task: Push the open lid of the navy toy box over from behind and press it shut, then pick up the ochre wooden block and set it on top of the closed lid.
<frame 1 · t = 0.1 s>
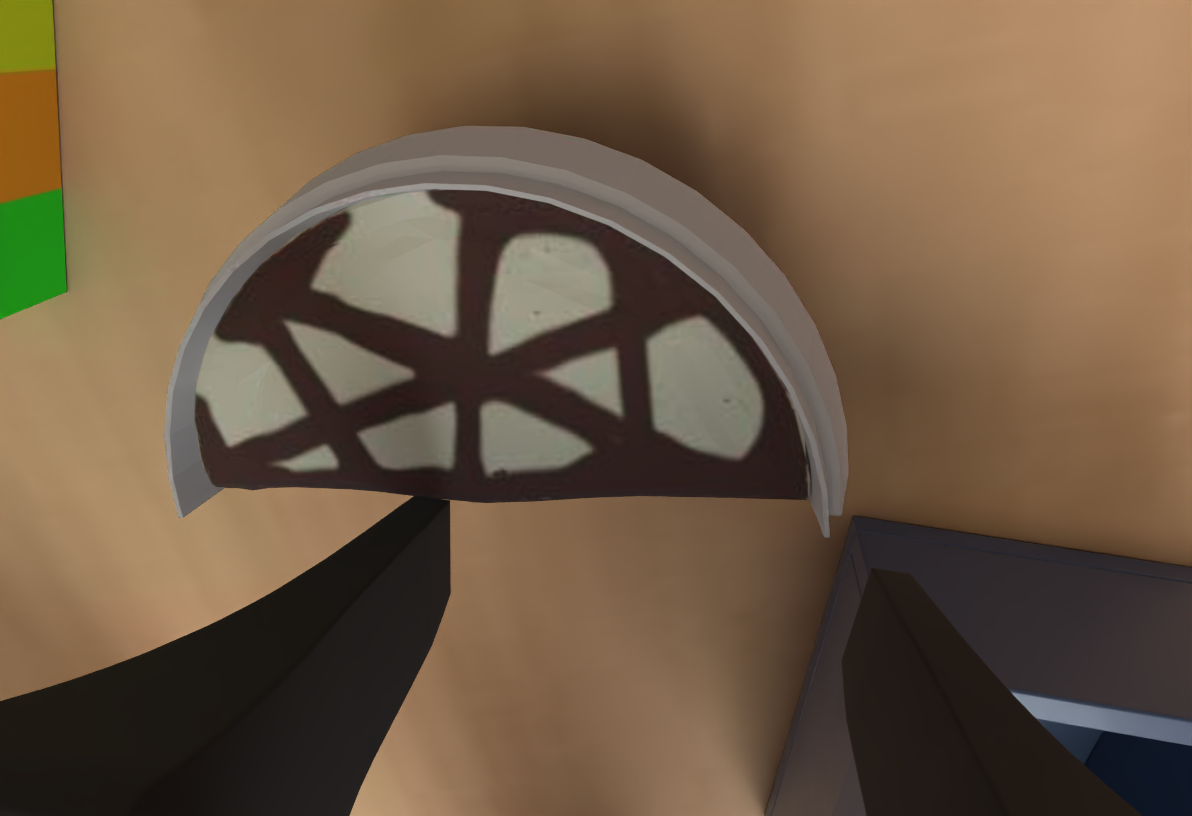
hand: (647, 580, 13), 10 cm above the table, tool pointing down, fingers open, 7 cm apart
food container: (576, 222, 21), on the table, touching gripper
toy box: (950, 711, 26), on the table
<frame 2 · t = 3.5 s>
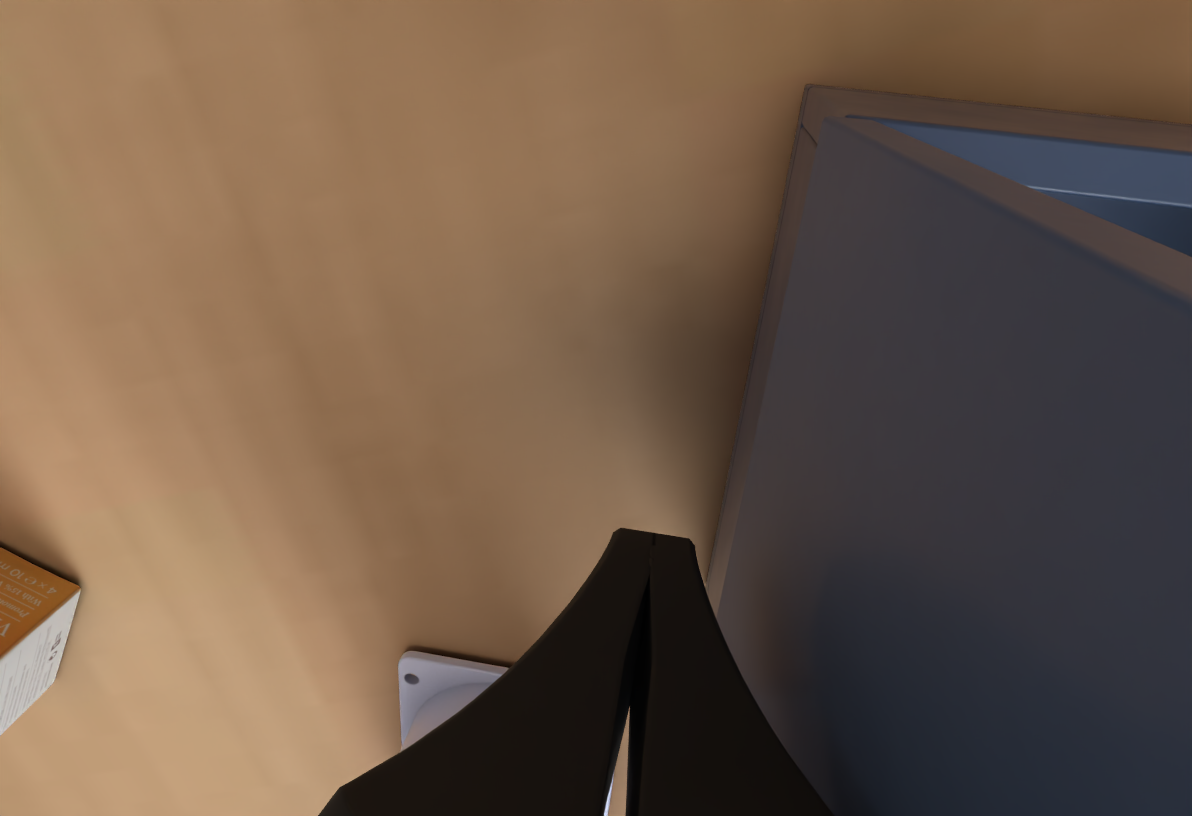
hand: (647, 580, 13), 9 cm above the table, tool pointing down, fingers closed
lid: (826, 781, 10), point 12 cm above the table, hinge at 82.8°, touching gripper
toy box: (939, 404, 20), on the table
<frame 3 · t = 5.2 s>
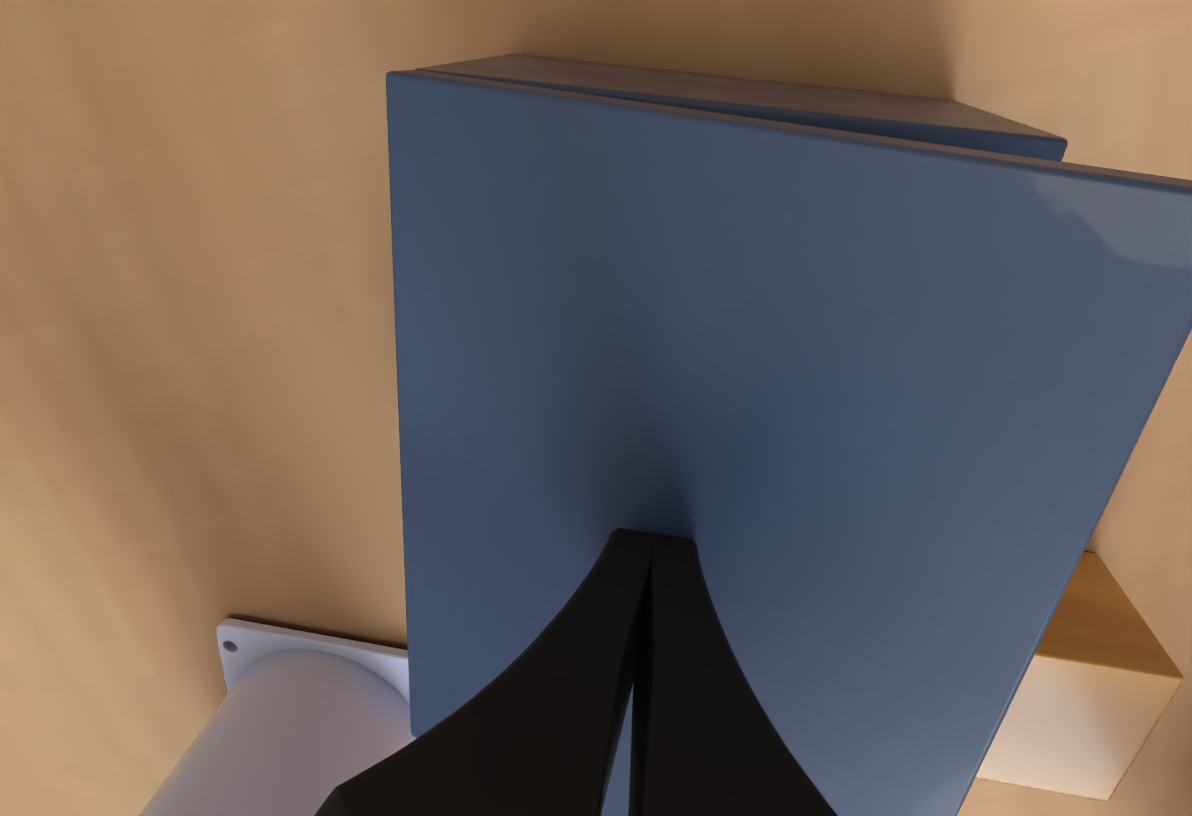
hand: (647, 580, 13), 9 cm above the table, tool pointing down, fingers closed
lid: (667, 564, 13), point 8 cm above the table, hinge at 17.5°
toy box: (681, 368, 21), on the table
block: (990, 600, 22), on the table
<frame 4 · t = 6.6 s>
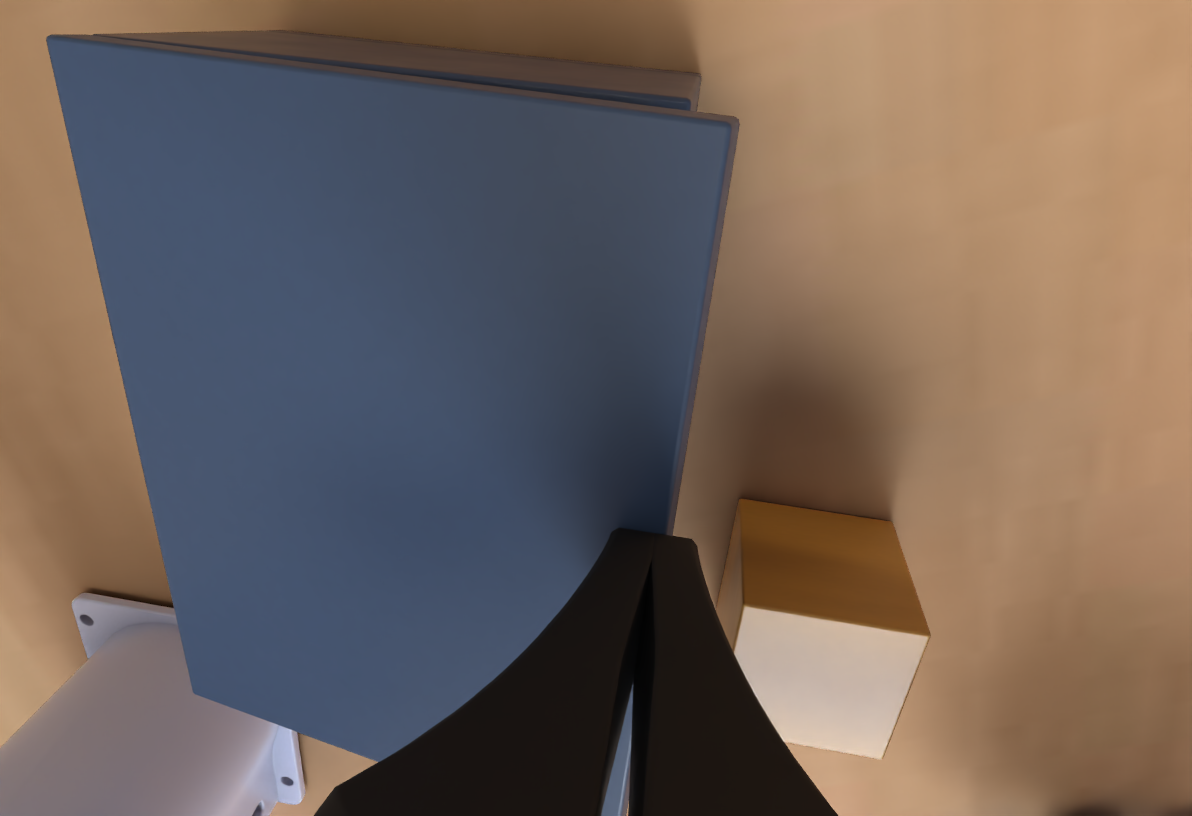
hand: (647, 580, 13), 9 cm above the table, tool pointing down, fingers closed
lid: (384, 492, 14), point 8 cm above the table, hinge at 9.4°
toy box: (480, 340, 21), on the table
block: (799, 568, 23), on the table
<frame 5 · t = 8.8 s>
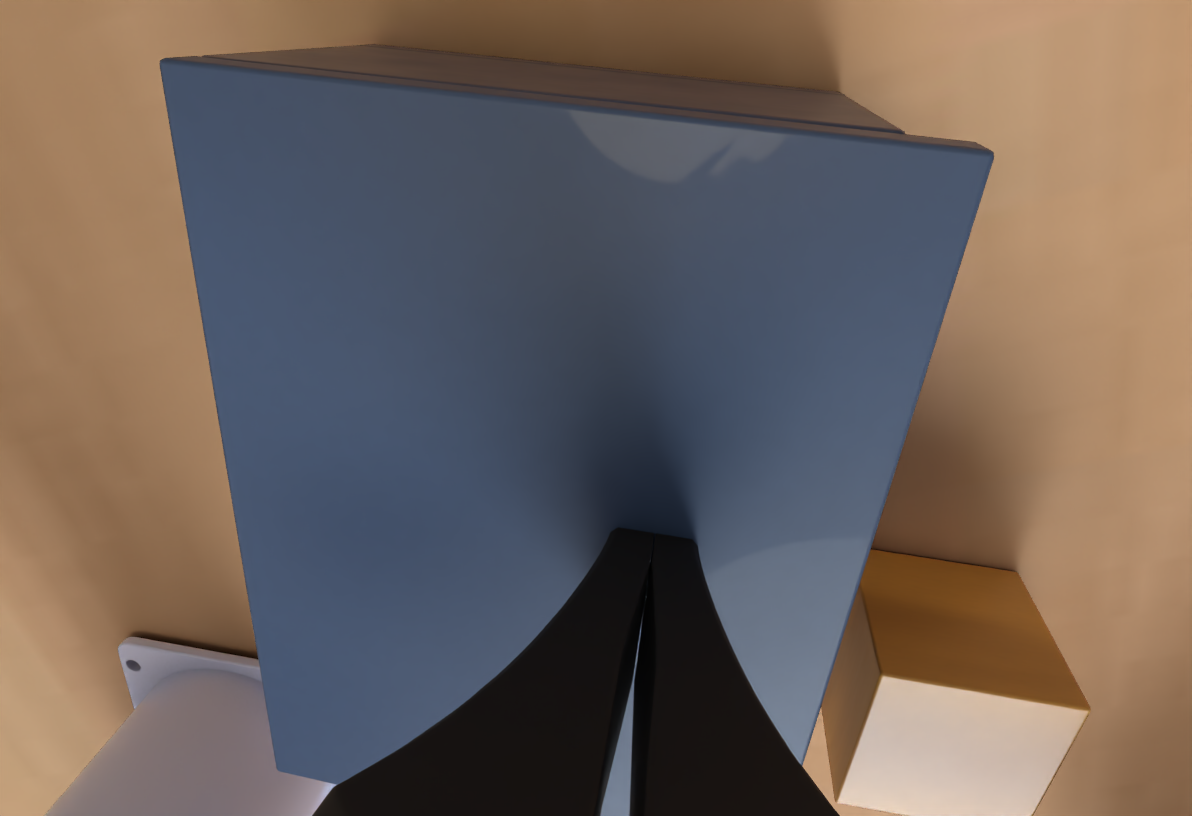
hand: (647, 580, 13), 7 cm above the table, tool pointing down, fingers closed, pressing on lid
lid: (530, 544, 13), point 7 cm above the table, hinge at 1.9°, touching gripper
toy box: (575, 377, 19), on the table
block: (910, 619, 21), on the table
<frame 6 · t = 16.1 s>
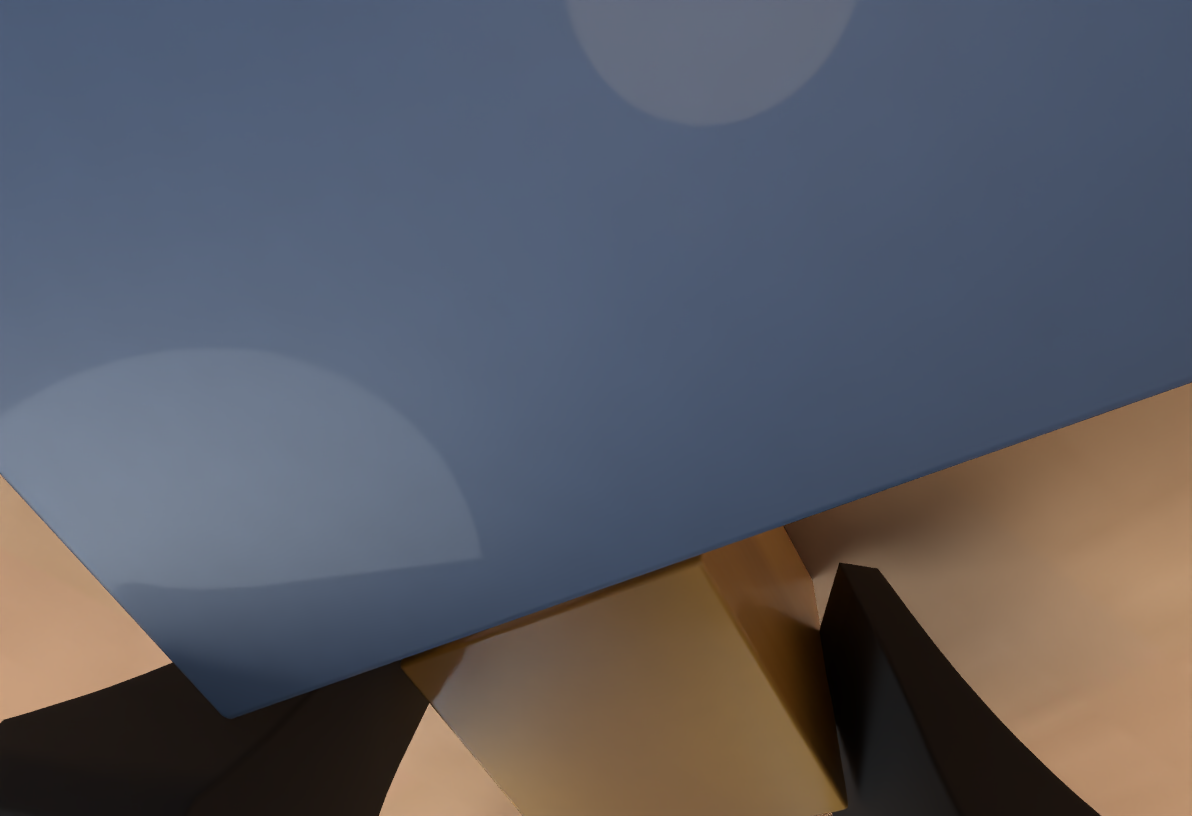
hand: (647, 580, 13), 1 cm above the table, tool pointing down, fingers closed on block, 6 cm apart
block: (652, 530, 14), on the table, touching gripper
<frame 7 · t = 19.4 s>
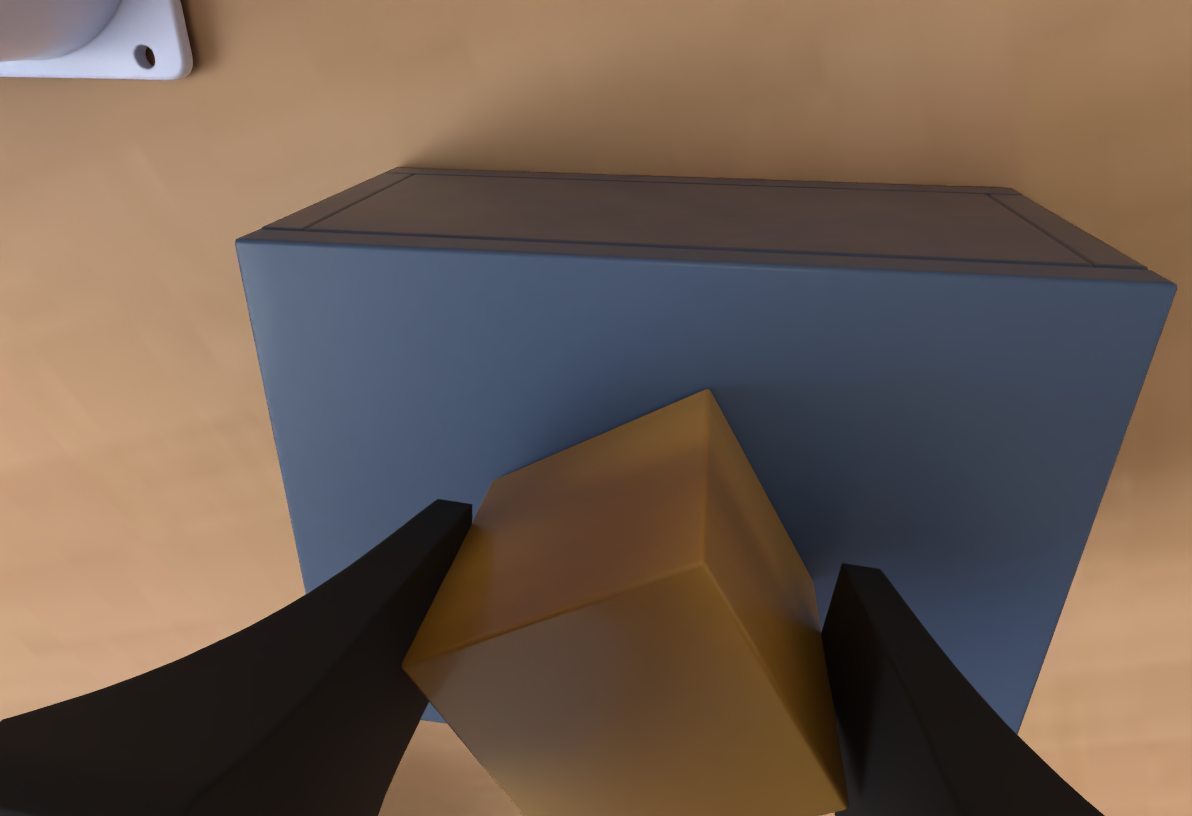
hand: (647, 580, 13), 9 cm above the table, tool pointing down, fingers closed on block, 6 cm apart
lid: (655, 534, 15), point 7 cm above the table, hinge at 0.8°, touching block
toy box: (676, 370, 20), on the table
block: (652, 530, 14), point 7 cm above the table, touching gripper, lid
when the fingers open (9 cm above the table, at t = 19.6 s): block stays where it is, resting on lid.
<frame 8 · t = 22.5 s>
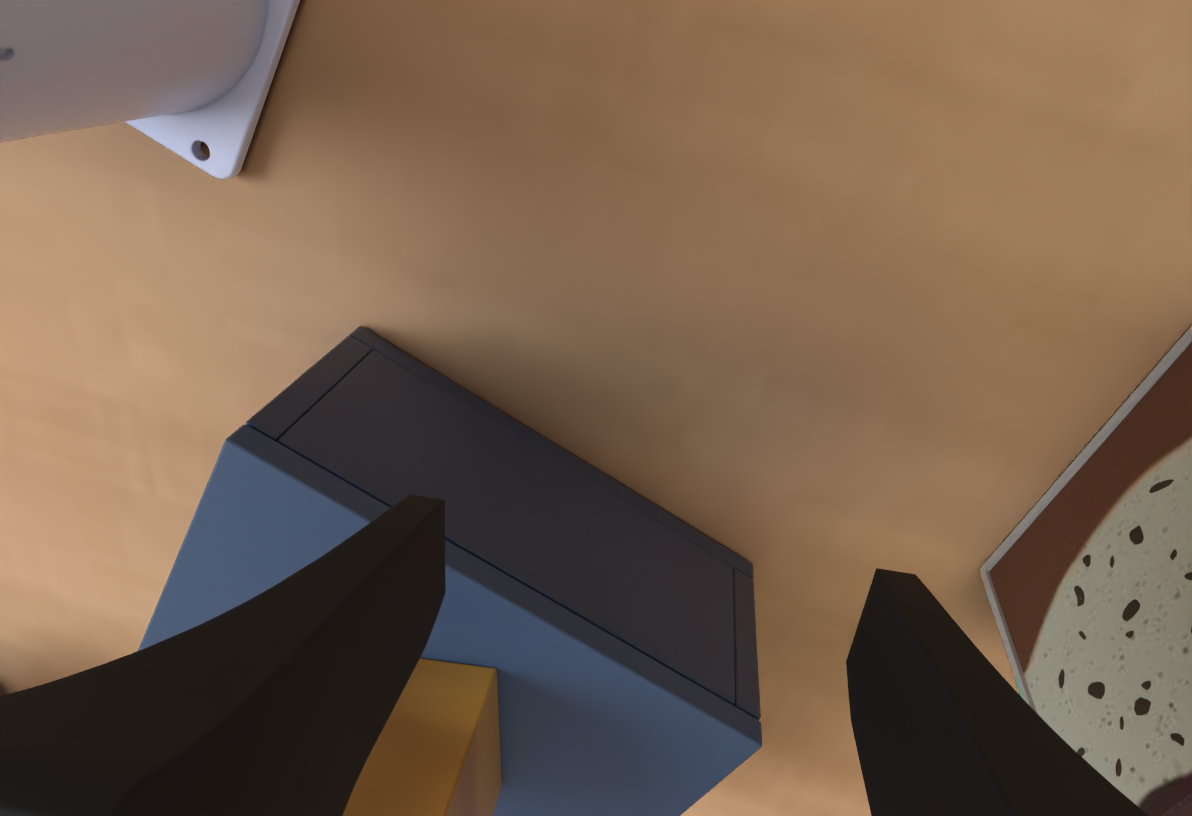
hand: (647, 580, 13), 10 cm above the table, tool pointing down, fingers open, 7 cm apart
lid: (418, 713, 21), point 7 cm above the table, hinge at -0.2°, touching block
food container: (1170, 493, 22), on the table
toy box: (491, 550, 26), on the table
block: (418, 717, 20), point 7 cm above the table, touching lid
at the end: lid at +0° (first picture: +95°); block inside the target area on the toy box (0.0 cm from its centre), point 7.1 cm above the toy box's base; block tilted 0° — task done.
